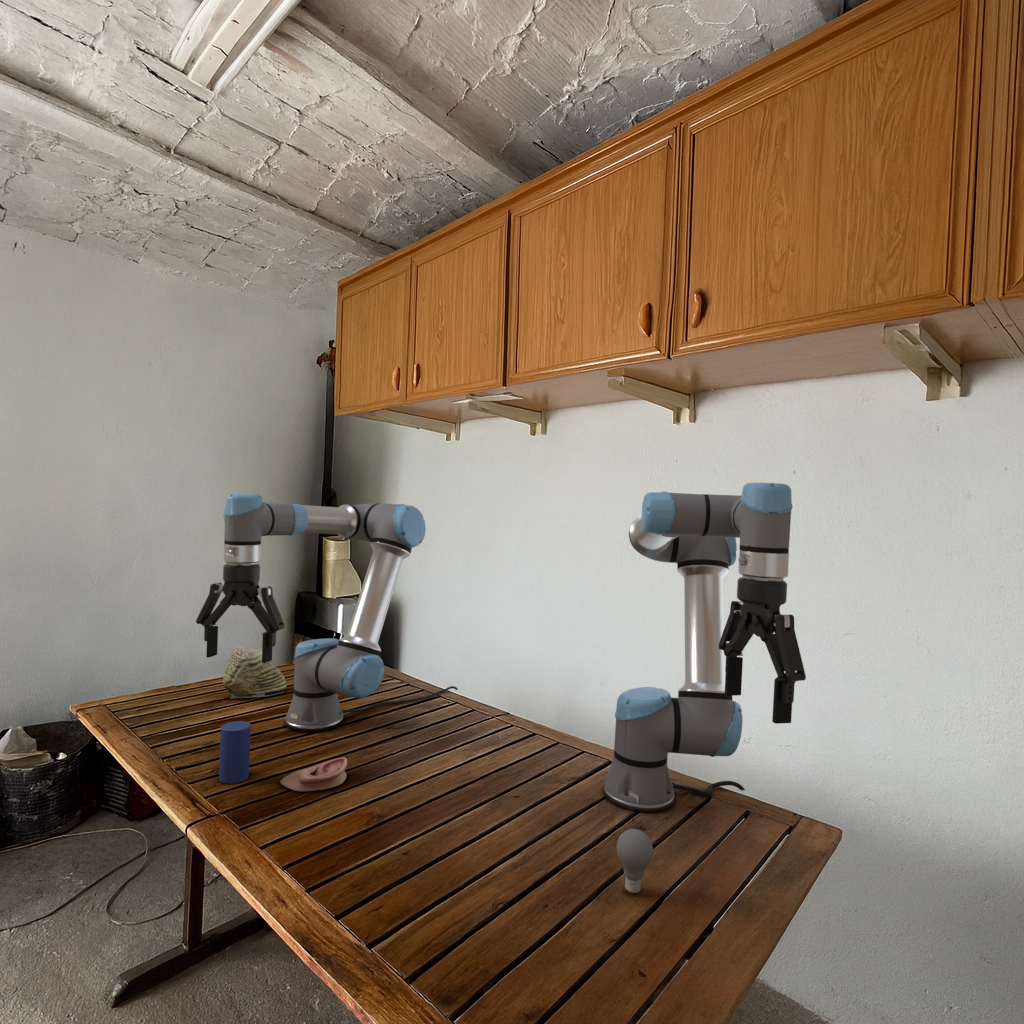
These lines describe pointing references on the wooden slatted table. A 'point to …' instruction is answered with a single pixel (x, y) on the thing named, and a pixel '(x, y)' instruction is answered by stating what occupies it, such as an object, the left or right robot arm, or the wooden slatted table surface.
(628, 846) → the light bulb
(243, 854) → the wooden slatted table surface
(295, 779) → the anatomical model
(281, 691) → the fossil
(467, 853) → the wooden slatted table surface
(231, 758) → the canister
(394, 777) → the wooden slatted table surface
